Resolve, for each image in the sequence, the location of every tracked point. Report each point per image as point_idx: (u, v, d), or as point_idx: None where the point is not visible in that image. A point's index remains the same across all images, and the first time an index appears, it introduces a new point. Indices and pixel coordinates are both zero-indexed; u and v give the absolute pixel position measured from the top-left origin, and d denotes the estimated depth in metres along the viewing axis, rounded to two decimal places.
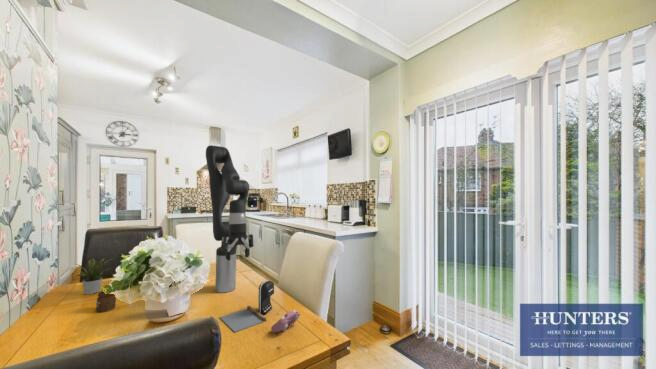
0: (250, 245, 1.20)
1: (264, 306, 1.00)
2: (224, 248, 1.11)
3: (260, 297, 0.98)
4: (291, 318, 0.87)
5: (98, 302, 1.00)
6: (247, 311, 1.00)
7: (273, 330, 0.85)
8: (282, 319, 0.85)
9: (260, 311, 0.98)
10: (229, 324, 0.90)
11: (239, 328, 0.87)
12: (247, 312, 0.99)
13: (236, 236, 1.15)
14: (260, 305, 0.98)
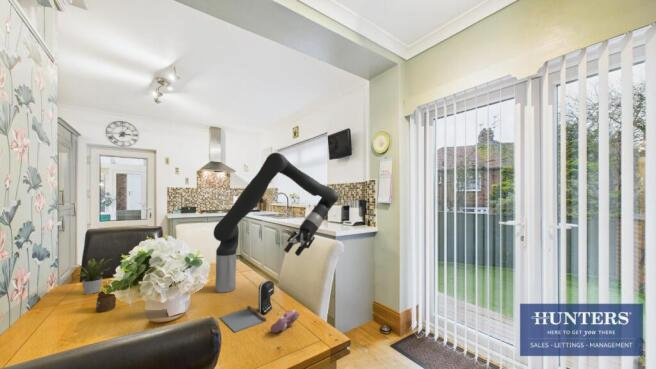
0: (291, 242, 1.17)
1: (264, 306, 1.00)
2: None
3: (261, 297, 0.98)
4: (290, 318, 0.87)
5: (98, 302, 1.00)
6: (247, 311, 1.00)
7: (272, 330, 0.85)
8: (281, 319, 0.85)
9: (260, 311, 0.98)
10: (229, 324, 0.90)
11: (239, 328, 0.87)
12: (247, 312, 0.99)
13: None
14: (260, 305, 0.98)
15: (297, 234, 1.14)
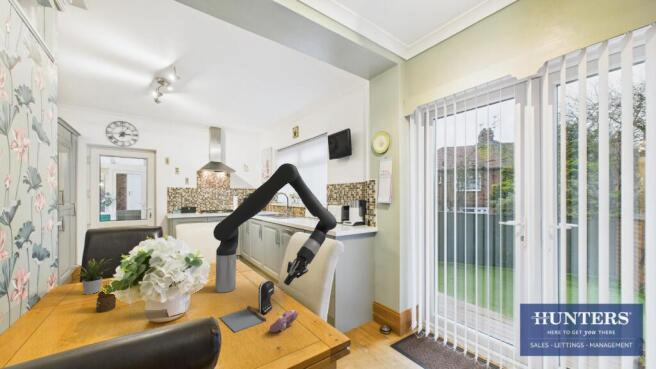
0: None
1: (264, 306, 1.00)
2: None
3: (260, 297, 0.98)
4: (289, 318, 0.87)
5: (98, 302, 1.00)
6: (247, 311, 1.00)
7: (271, 330, 0.85)
8: (280, 319, 0.85)
9: (260, 311, 0.98)
10: (229, 324, 0.90)
11: (239, 328, 0.87)
12: (247, 312, 0.99)
13: None
14: (260, 305, 0.98)
15: (294, 262, 1.12)
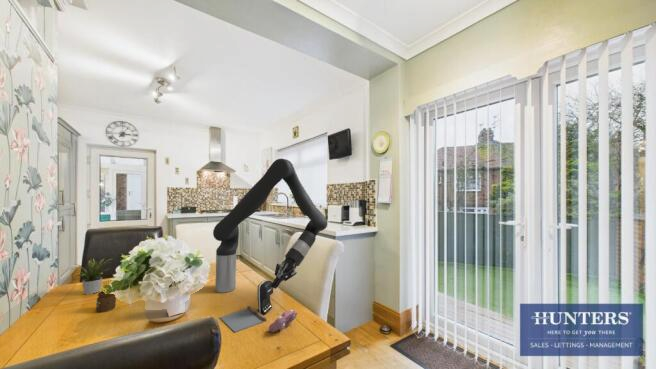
0: None
1: (264, 306, 1.00)
2: None
3: (260, 297, 0.98)
4: (288, 317, 0.88)
5: (98, 302, 1.00)
6: (247, 311, 1.00)
7: (270, 329, 0.85)
8: (279, 318, 0.85)
9: (260, 311, 0.98)
10: (229, 324, 0.90)
11: (239, 328, 0.87)
12: (247, 312, 0.99)
13: None
14: (260, 305, 0.98)
15: (283, 264, 1.08)
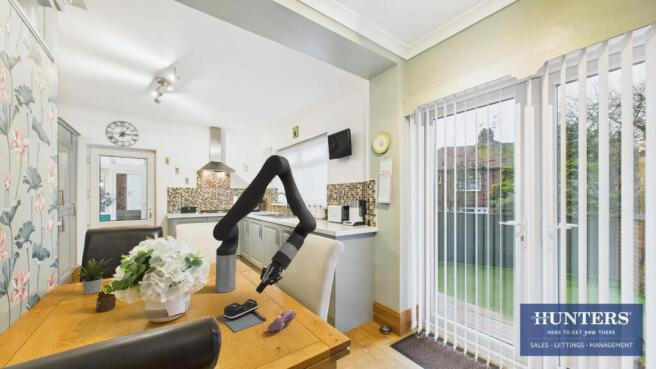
0: None
1: (250, 305, 0.99)
2: None
3: (243, 312, 0.95)
4: (287, 317, 0.88)
5: (98, 302, 1.00)
6: None
7: (269, 329, 0.85)
8: (278, 318, 0.85)
9: (255, 307, 0.99)
10: (229, 324, 0.90)
11: (239, 328, 0.87)
12: None
13: None
14: (250, 309, 0.98)
15: (269, 268, 1.04)
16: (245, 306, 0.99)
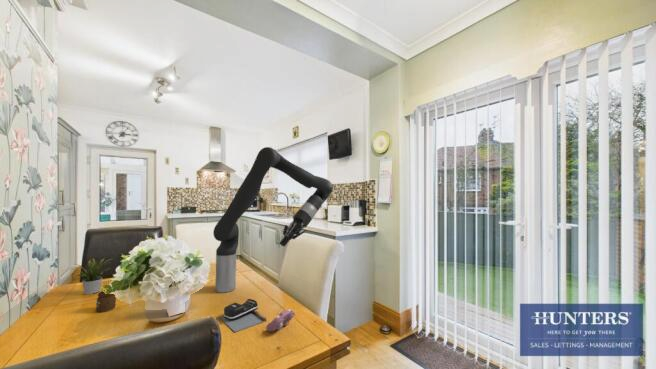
0: None
1: (250, 305, 0.99)
2: None
3: (243, 312, 0.95)
4: (286, 317, 0.88)
5: (98, 302, 1.00)
6: None
7: (268, 329, 0.85)
8: (277, 318, 0.85)
9: (255, 307, 0.99)
10: (229, 324, 0.90)
11: (239, 328, 0.87)
12: None
13: None
14: (250, 309, 0.98)
15: (291, 224, 1.11)
16: (245, 306, 0.99)
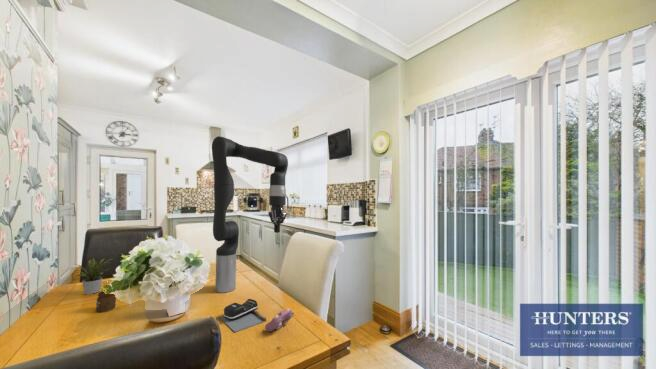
0: None
1: (250, 305, 0.99)
2: None
3: (243, 312, 0.95)
4: (285, 317, 0.88)
5: (98, 302, 1.00)
6: None
7: (267, 329, 0.86)
8: (276, 318, 0.85)
9: (255, 307, 0.99)
10: (229, 324, 0.90)
11: (239, 328, 0.87)
12: None
13: None
14: (250, 309, 0.98)
15: (272, 212, 1.18)
16: (245, 306, 0.99)
